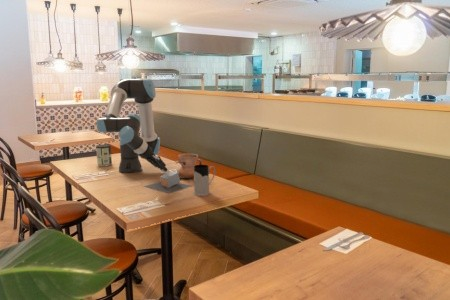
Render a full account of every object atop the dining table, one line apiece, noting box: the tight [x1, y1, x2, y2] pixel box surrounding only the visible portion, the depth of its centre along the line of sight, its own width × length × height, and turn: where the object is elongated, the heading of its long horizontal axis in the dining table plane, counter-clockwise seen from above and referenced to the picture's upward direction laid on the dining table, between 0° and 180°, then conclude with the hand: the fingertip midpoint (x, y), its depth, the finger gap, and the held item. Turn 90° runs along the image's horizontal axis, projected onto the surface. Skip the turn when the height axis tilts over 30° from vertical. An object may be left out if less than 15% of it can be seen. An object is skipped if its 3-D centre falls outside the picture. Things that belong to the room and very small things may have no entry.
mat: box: [143, 181, 193, 194], centre depth 216 cm, size 22×18×1 cm
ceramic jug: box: [174, 153, 203, 180], centre depth 236 cm, size 18×14×14 cm
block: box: [159, 170, 181, 188], centre depth 217 cm, size 6×6×9 cm
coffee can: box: [95, 144, 113, 167], centre depth 274 cm, size 10×10×14 cm
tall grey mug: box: [193, 164, 216, 197], centre depth 204 cm, size 9×14×15 cm, turn 135°
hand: (168, 173), depth 215 cm, fingers closed
